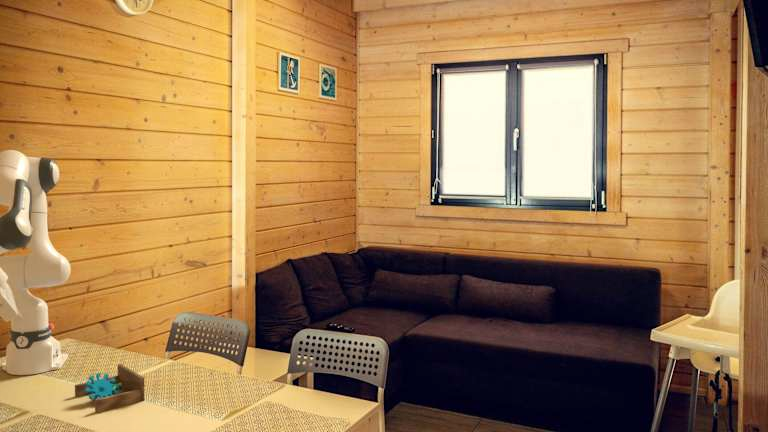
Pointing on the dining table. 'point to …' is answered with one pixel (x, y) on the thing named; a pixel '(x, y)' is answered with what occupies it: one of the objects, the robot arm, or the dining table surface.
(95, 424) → the dining table surface
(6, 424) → the dining table surface
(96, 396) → the teal round spiked piece
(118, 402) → the bay
